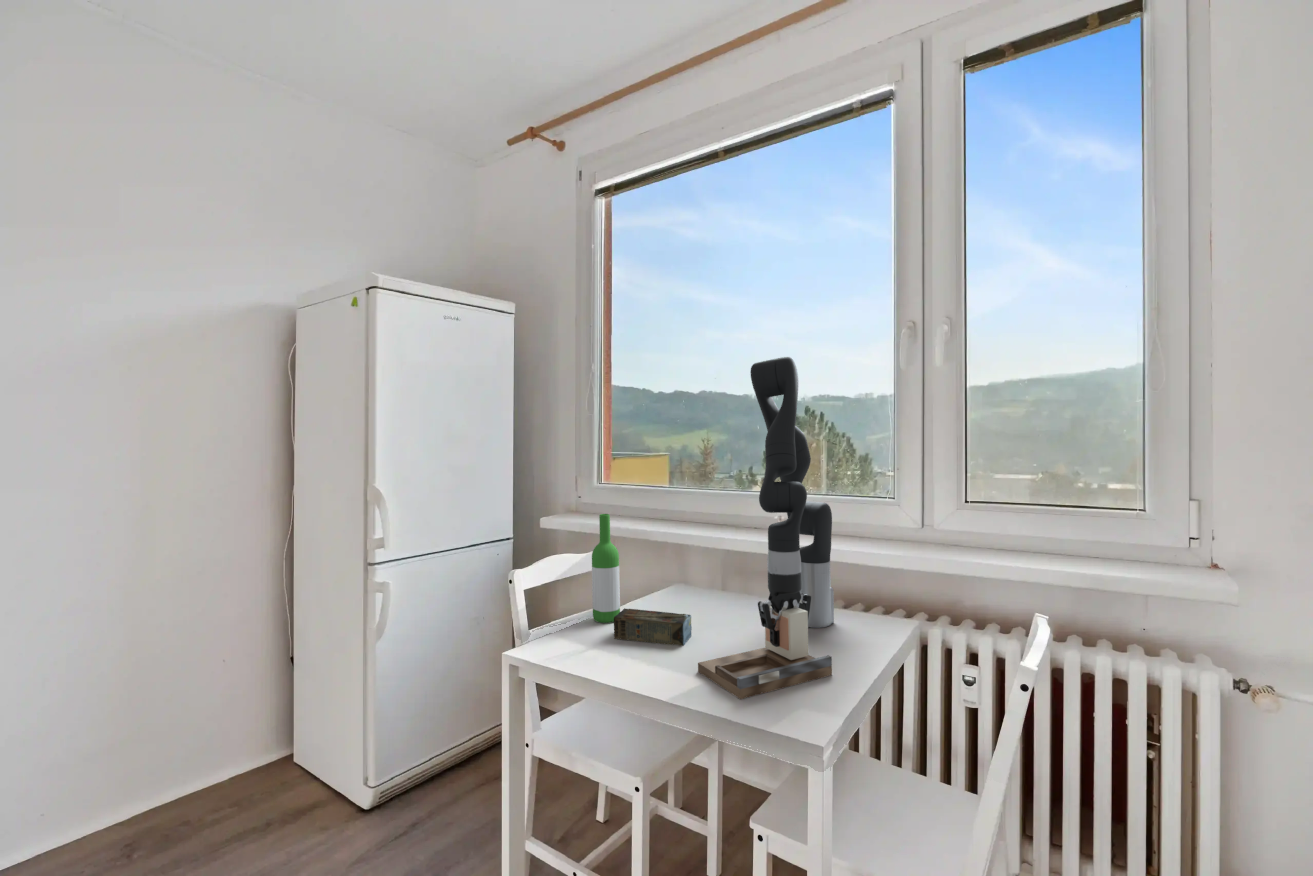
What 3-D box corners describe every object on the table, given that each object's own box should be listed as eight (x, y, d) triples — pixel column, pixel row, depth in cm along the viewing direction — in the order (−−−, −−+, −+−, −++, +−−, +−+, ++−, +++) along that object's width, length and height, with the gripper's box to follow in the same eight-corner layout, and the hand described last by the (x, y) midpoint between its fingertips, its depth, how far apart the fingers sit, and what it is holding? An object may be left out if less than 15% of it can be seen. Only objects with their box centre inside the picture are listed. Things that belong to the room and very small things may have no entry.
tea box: (782, 643, 143) (781, 601, 143) (808, 655, 135) (807, 611, 135) (764, 647, 141) (763, 605, 141) (789, 660, 133) (789, 615, 133)
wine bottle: (606, 614, 178) (604, 512, 178) (625, 618, 173) (623, 513, 173) (587, 620, 172) (585, 515, 172) (606, 625, 167) (604, 517, 167)
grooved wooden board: (783, 651, 145) (783, 635, 145) (832, 675, 130) (832, 657, 130) (698, 671, 134) (697, 653, 134) (741, 700, 119) (740, 679, 119)
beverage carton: (684, 647, 150) (683, 620, 150) (612, 640, 156) (611, 615, 156) (692, 636, 157) (691, 611, 157) (623, 630, 163) (623, 606, 163)
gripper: (797, 562, 144) (799, 633, 145) (748, 570, 138) (750, 644, 138) (819, 568, 138) (821, 642, 138) (769, 576, 131) (771, 654, 131)
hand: (785, 643), depth 138 cm, fingers closed on tea box, 5 cm apart
